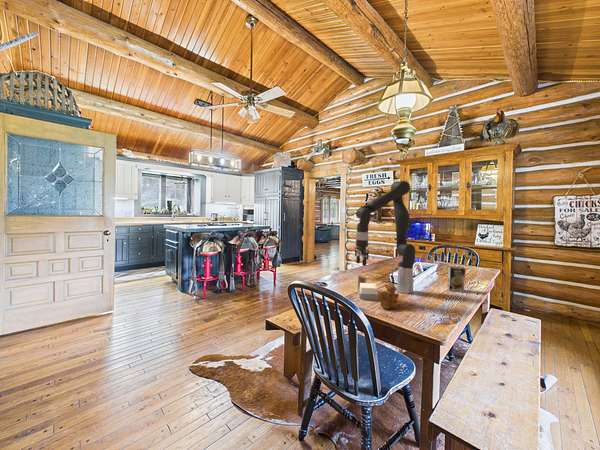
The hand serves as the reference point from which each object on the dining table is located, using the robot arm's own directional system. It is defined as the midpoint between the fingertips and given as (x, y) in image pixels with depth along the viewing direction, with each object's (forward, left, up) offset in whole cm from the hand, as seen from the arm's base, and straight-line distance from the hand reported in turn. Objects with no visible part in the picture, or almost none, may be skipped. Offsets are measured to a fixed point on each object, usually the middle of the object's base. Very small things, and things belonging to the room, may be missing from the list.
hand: (361, 264), depth 164 cm
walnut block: (-2, -12, -21) cm, 24 cm away
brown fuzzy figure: (-15, +14, -21) cm, 30 cm away
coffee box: (-67, -24, -21) cm, 74 cm away
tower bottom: (-5, 0, -22) cm, 22 cm away
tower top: (-5, 0, -18) cm, 18 cm away
